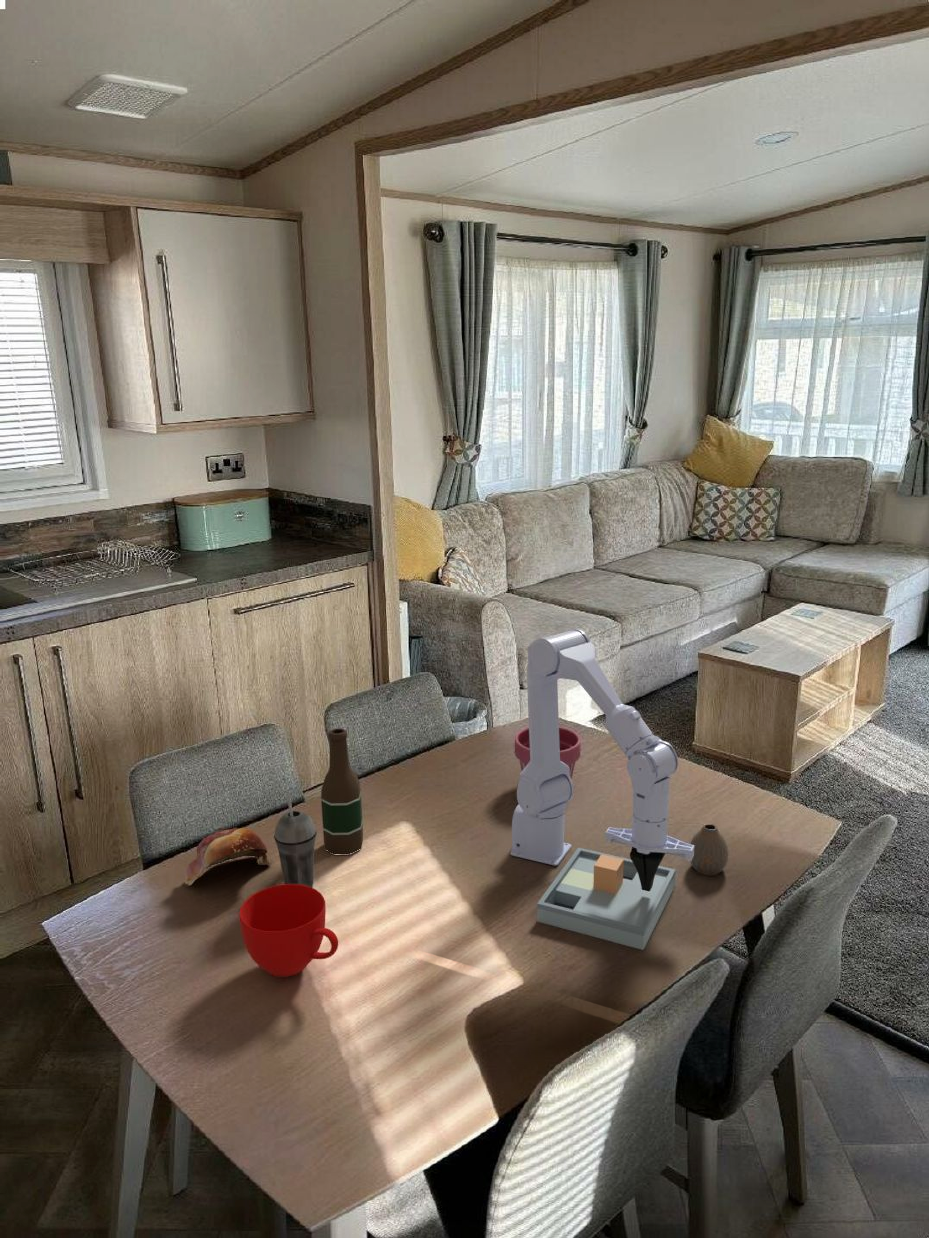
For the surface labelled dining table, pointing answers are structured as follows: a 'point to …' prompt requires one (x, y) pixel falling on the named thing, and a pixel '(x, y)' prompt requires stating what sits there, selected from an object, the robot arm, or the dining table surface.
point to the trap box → (605, 902)
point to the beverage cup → (296, 846)
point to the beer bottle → (341, 800)
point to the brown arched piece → (226, 850)
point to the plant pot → (567, 743)
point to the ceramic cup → (285, 928)
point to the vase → (709, 851)
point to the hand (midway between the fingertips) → (647, 887)
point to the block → (608, 874)
